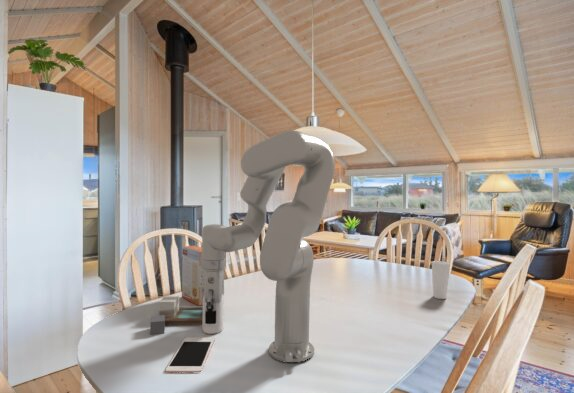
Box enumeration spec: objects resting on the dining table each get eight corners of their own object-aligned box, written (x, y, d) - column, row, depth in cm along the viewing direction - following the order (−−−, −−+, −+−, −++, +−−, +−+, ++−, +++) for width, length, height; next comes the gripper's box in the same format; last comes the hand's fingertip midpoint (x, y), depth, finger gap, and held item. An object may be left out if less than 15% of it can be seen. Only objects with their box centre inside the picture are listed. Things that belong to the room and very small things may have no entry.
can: (202, 335, 103) (203, 296, 103) (201, 327, 109) (202, 290, 109) (224, 333, 105) (224, 295, 104) (222, 325, 111) (222, 288, 111)
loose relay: (164, 333, 104) (164, 320, 104) (150, 335, 103) (150, 322, 103) (164, 327, 109) (164, 314, 109) (151, 328, 108) (151, 316, 107)
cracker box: (212, 303, 131) (213, 249, 130) (198, 306, 127) (198, 251, 126) (194, 294, 141) (195, 244, 141) (181, 297, 137) (181, 246, 136)
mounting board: (217, 325, 111) (218, 305, 111) (155, 325, 110) (155, 305, 109) (222, 311, 123) (223, 293, 123) (166, 311, 122) (167, 293, 121)
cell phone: (214, 340, 101) (214, 337, 101) (201, 374, 83) (201, 370, 83) (184, 340, 100) (184, 337, 100) (164, 374, 82) (164, 370, 82)
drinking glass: (430, 298, 142) (431, 263, 141) (431, 294, 148) (432, 260, 147) (448, 301, 139) (449, 265, 138) (448, 296, 145) (450, 261, 144)
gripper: (222, 270, 99) (221, 328, 99) (229, 258, 116) (228, 307, 116) (196, 270, 98) (195, 328, 99) (207, 257, 115) (206, 307, 116)
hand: (213, 317), depth 108 cm, fingers open, 9 cm apart
